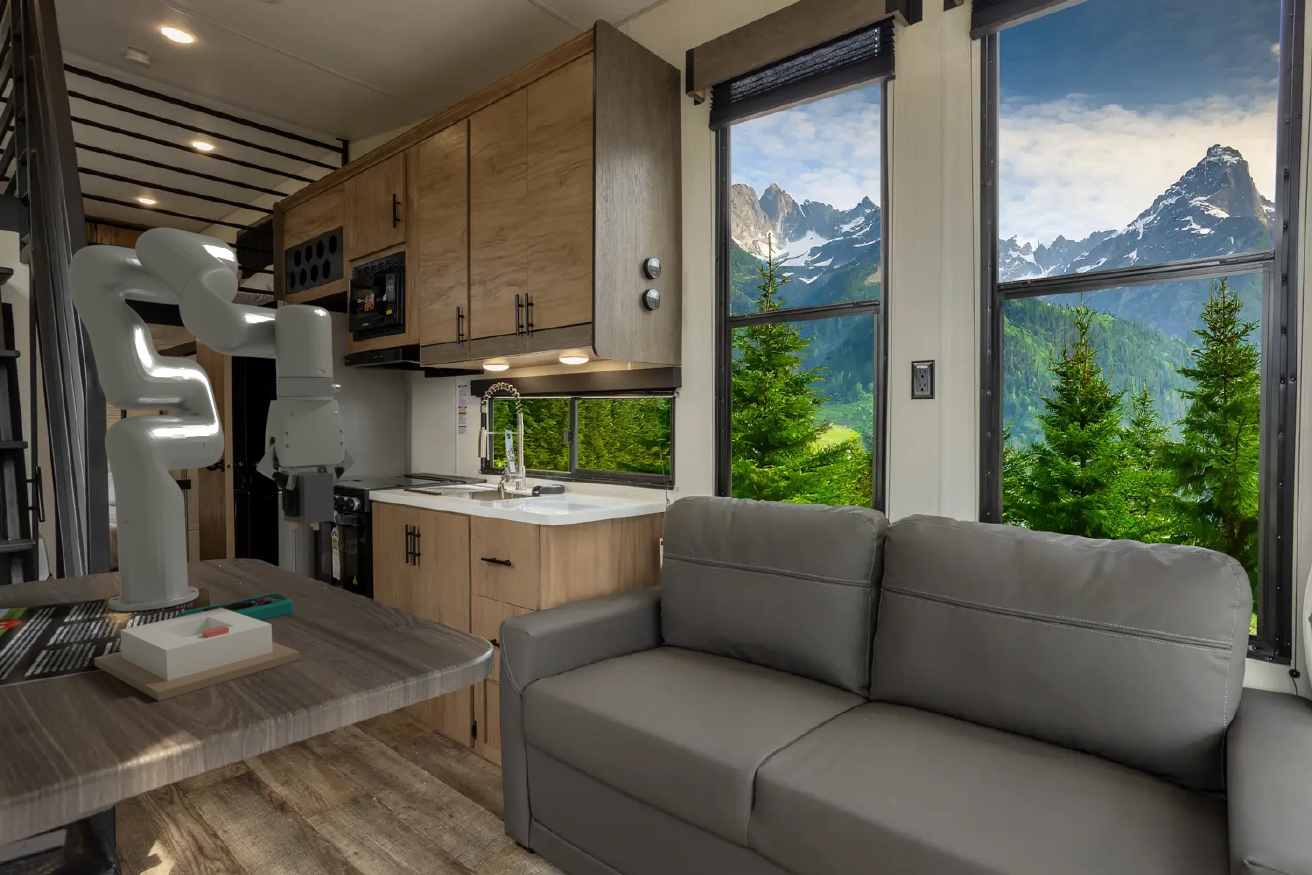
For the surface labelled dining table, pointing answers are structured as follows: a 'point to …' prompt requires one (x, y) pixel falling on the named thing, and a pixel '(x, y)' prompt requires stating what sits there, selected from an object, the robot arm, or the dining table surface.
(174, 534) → the robot arm
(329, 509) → the plug
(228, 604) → the digital multimeter
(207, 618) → the socket
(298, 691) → the dining table surface
